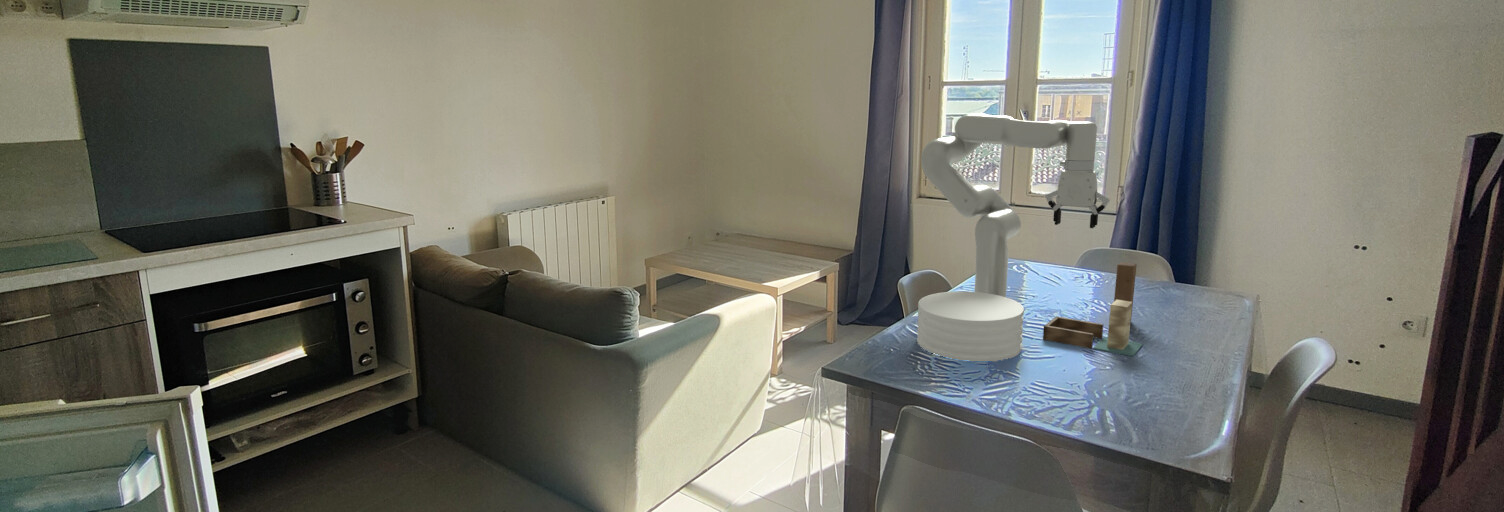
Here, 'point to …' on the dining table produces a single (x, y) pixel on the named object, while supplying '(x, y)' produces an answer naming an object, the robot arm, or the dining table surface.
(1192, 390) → the dining table surface
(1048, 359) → the dining table surface
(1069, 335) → the crate
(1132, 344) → the mat
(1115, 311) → the birch block
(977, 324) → the plate stack
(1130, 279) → the wooden block
